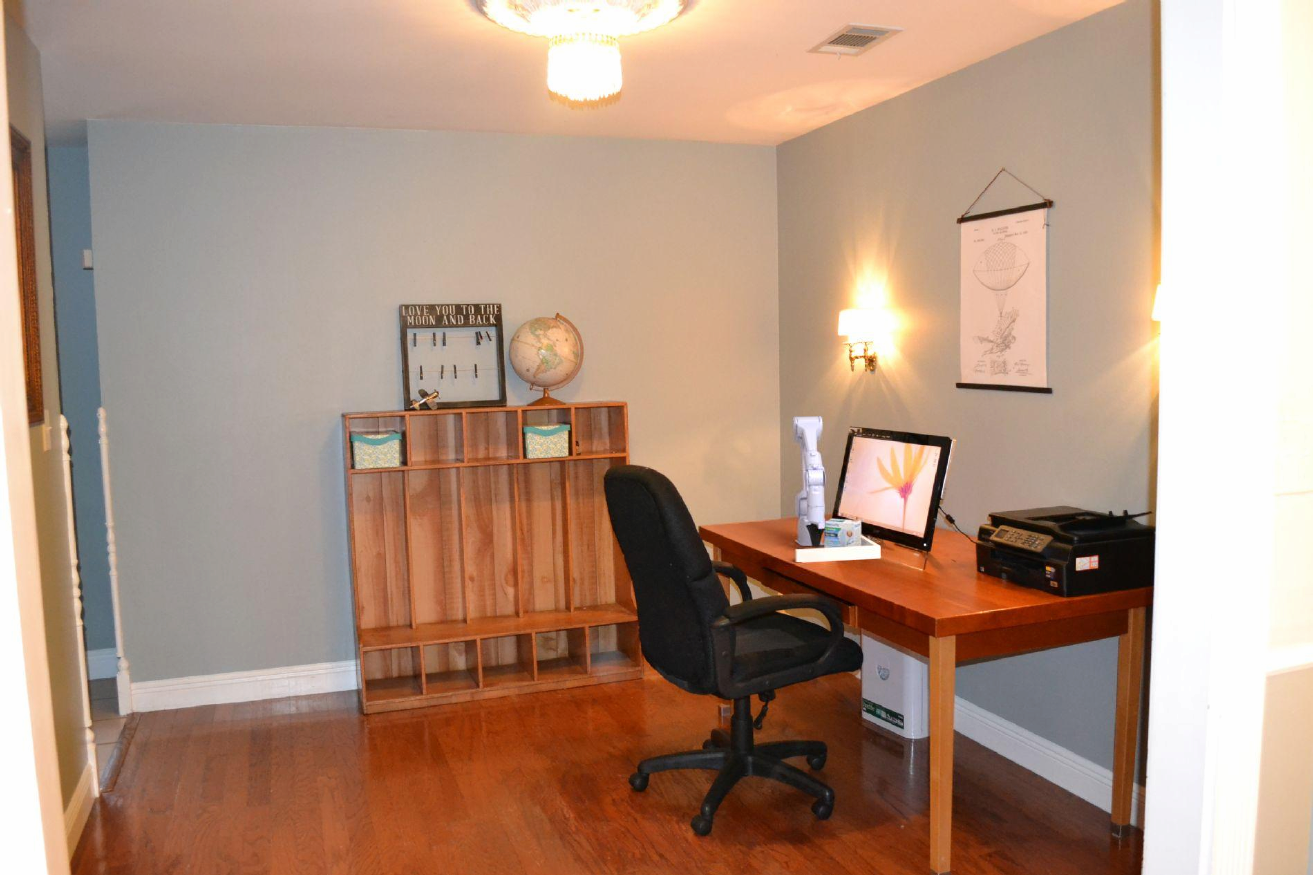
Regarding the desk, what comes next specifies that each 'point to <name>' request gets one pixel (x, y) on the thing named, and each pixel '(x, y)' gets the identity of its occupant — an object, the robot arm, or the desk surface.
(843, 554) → the corner walls
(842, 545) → the light bulb box
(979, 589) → the desk surface
